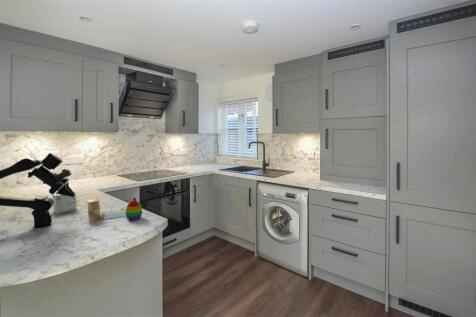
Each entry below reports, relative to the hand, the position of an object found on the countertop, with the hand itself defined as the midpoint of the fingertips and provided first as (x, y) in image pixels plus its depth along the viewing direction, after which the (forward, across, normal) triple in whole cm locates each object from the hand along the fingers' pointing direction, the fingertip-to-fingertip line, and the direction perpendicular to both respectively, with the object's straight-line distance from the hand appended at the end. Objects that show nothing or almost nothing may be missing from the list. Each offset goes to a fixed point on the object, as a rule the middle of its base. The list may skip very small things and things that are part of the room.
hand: (74, 195), depth 131 cm
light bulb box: (+4, +26, +16) cm, 31 cm away
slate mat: (+22, 0, -3) cm, 22 cm away
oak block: (+16, 0, +4) cm, 16 cm away
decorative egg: (+30, -12, -10) cm, 33 cm away
